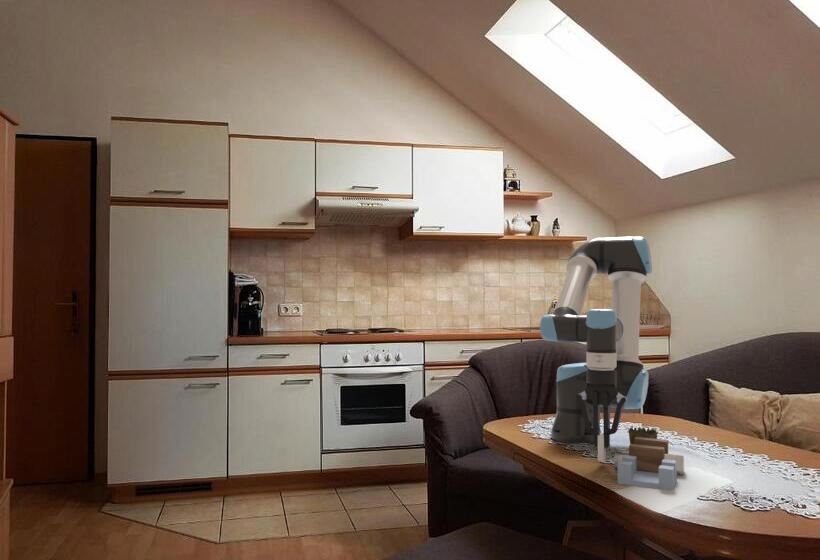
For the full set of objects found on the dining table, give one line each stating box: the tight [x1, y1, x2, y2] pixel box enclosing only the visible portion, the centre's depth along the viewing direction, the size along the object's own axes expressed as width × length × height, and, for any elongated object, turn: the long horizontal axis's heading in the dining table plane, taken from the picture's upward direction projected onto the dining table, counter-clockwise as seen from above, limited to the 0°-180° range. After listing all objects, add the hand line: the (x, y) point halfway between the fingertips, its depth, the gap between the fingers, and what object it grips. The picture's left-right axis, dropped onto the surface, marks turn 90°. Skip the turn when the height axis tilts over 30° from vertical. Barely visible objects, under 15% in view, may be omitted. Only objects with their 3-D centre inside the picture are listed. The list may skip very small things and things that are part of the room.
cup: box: [627, 426, 659, 445], centre depth 177 cm, size 8×7×8 cm
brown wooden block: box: [628, 437, 669, 473], centre depth 166 cm, size 12×8×7 cm
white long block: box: [613, 448, 685, 476], centre depth 165 cm, size 5×16×5 cm, turn 63°
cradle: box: [617, 455, 678, 491], centre depth 155 cm, size 9×12×5 cm
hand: (601, 459), depth 171 cm, fingers closed
